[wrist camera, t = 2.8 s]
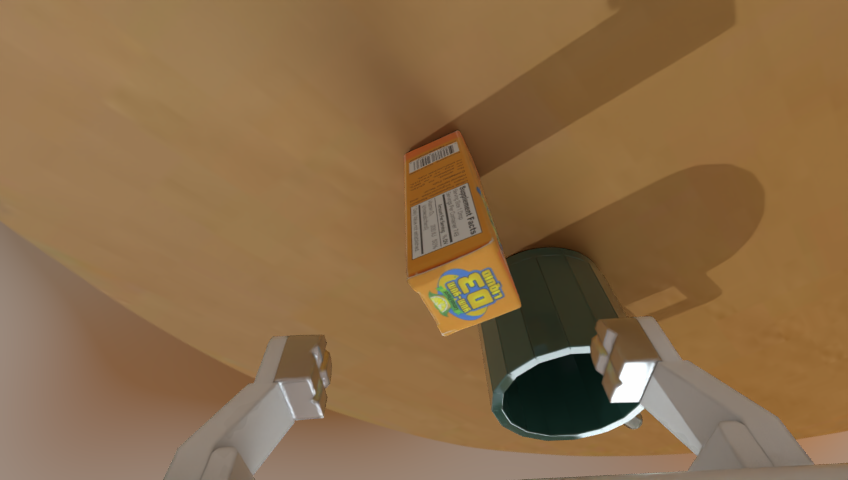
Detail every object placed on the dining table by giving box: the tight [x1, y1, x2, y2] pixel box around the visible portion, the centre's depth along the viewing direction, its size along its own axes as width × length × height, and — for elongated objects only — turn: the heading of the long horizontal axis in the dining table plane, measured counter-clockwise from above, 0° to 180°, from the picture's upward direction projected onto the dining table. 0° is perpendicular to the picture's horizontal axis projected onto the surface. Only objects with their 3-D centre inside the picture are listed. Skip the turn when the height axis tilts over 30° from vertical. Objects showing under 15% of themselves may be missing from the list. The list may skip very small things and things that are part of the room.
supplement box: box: [404, 131, 521, 336], centre depth 17 cm, size 3×3×10 cm
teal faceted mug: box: [478, 247, 645, 441], centre depth 25 cm, size 12×8×8 cm
